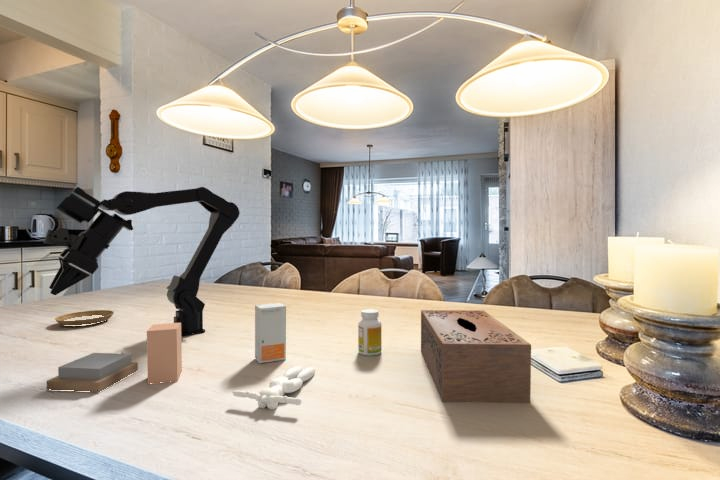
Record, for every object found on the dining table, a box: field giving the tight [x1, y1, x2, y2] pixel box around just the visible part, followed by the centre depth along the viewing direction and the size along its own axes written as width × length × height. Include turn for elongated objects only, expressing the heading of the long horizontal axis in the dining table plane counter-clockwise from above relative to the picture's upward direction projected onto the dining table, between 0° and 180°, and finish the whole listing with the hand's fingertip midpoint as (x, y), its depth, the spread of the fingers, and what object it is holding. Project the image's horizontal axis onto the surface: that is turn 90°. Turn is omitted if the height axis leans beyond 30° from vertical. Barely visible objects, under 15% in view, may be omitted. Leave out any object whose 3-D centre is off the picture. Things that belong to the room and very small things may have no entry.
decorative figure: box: [232, 365, 316, 411], centre depth 67 cm, size 4×12×18 cm
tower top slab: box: [57, 352, 132, 380], centre depth 71 cm, size 8×8×2 cm
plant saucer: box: [54, 309, 115, 326], centre depth 115 cm, size 15×15×3 cm
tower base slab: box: [46, 361, 139, 393], centre depth 71 cm, size 10×10×2 cm
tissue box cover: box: [420, 309, 532, 404], centre depth 74 cm, size 26×14×10 cm, turn 179°
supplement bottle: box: [357, 308, 383, 357], centre depth 87 cm, size 5×5×10 cm
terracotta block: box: [146, 322, 183, 385], centre depth 72 cm, size 5×5×10 cm
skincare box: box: [254, 302, 287, 364], centre depth 82 cm, size 6×4×12 cm
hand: (51, 291), depth 84 cm, fingers open, 9 cm apart
